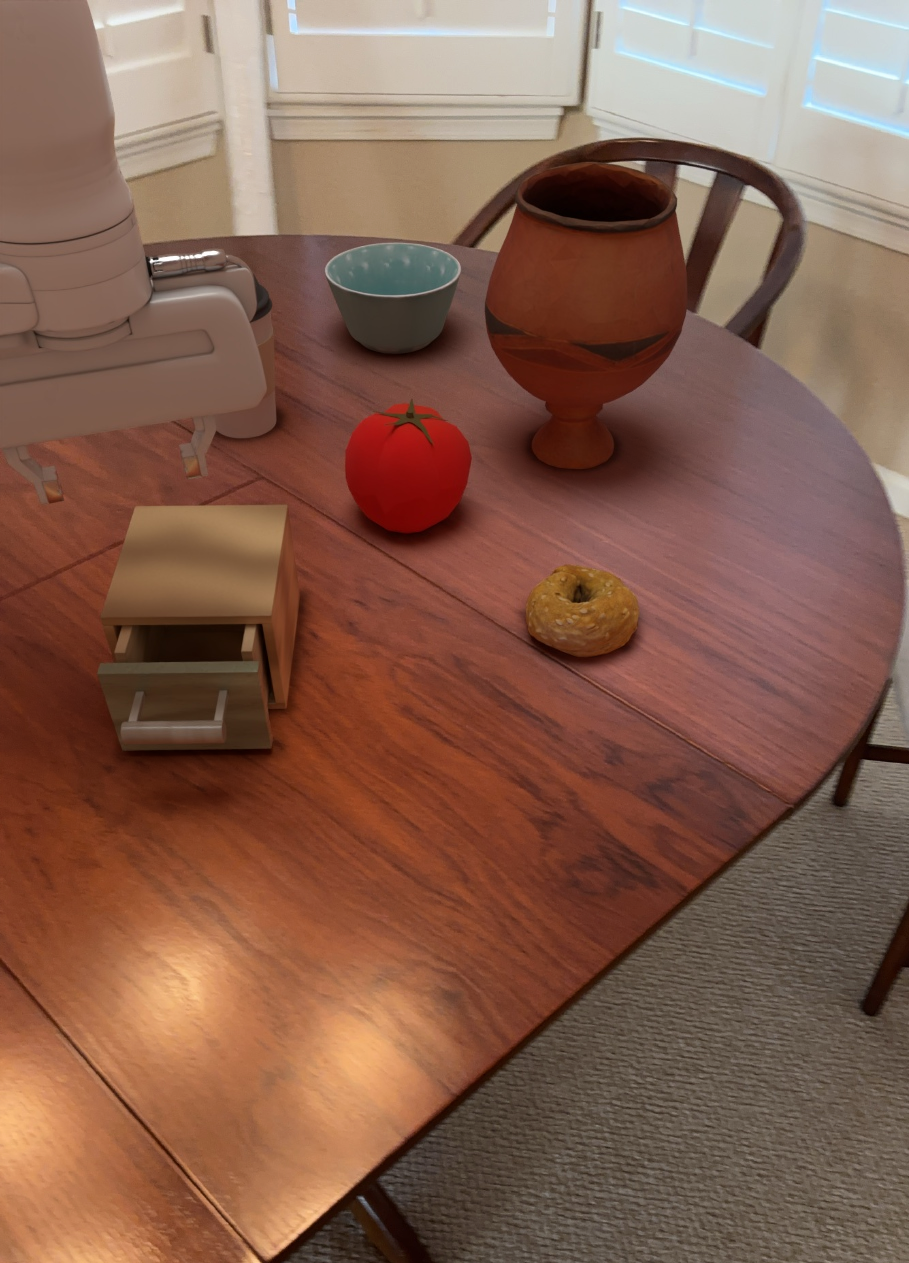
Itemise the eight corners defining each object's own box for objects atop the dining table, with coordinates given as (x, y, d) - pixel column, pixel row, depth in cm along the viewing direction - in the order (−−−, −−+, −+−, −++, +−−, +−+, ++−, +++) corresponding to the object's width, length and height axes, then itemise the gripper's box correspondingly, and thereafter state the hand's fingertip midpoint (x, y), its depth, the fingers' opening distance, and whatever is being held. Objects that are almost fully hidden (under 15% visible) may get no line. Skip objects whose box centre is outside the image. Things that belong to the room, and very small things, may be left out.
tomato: (344, 550, 100) (334, 441, 92) (352, 483, 108) (344, 377, 99) (471, 551, 100) (472, 442, 92) (471, 484, 108) (472, 377, 99)
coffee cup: (227, 454, 111) (202, 309, 100) (188, 418, 116) (159, 276, 105) (302, 428, 115) (286, 285, 104) (261, 394, 120) (241, 254, 108)
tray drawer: (265, 795, 78) (250, 718, 73) (109, 797, 78) (82, 720, 72) (286, 635, 90) (275, 558, 85) (151, 637, 90) (131, 560, 84)
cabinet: (286, 710, 86) (271, 615, 78) (129, 712, 86) (99, 617, 78) (300, 598, 95) (287, 504, 88) (159, 599, 95) (135, 505, 88)
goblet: (504, 510, 105) (515, 240, 86) (465, 413, 117) (467, 159, 98) (689, 489, 107) (740, 223, 88) (632, 396, 120) (665, 145, 101)
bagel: (652, 602, 95) (660, 557, 91) (617, 678, 88) (624, 633, 85) (546, 576, 97) (550, 532, 94) (505, 649, 91) (507, 604, 87)
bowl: (338, 308, 134) (332, 238, 128) (462, 310, 134) (463, 240, 128) (323, 367, 124) (316, 294, 118) (458, 370, 124) (458, 297, 117)
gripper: (239, 224, 64) (270, 436, 75) (-120, 270, 60) (-34, 488, 71) (259, 265, 60) (289, 483, 71) (-124, 317, 56) (-32, 540, 67)
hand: (125, 486), depth 71 cm, fingers open, 8 cm apart
